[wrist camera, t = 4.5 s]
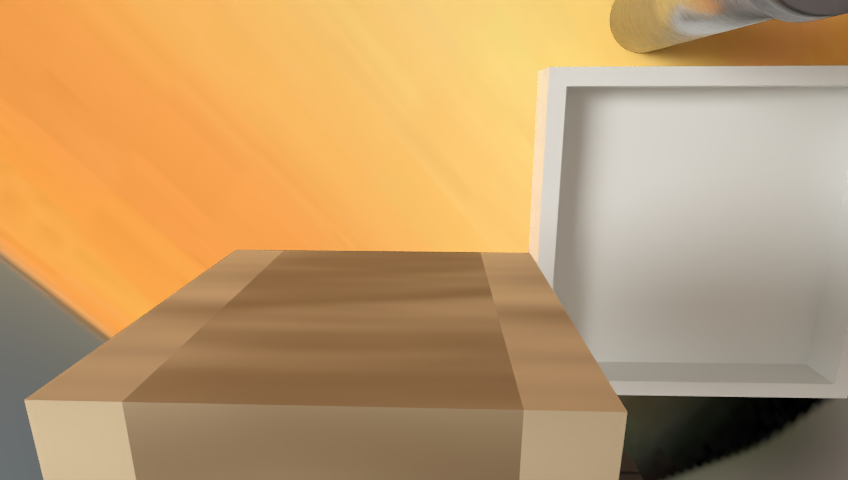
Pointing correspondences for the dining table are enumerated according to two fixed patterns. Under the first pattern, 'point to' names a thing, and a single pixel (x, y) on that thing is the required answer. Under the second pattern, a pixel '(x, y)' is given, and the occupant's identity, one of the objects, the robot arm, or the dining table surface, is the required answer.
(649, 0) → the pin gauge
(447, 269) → the wooden box
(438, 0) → the dining table surface
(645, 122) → the tray
